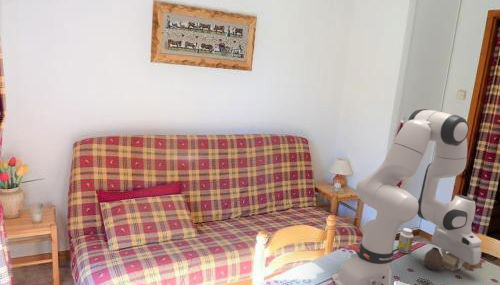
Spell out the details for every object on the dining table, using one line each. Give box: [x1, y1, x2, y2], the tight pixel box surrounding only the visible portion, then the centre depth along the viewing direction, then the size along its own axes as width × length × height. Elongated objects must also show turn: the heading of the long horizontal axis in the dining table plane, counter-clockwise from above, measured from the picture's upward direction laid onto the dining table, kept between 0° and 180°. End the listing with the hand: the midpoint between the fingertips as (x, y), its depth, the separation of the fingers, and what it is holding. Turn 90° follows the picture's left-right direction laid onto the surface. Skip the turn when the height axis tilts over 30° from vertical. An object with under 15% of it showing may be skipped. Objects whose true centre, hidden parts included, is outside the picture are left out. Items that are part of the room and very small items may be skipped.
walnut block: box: [461, 257, 484, 270], centre depth 162 cm, size 8×8×4 cm
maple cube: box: [442, 252, 461, 272], centre depth 158 cm, size 5×5×5 cm
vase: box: [423, 246, 443, 271], centre depth 155 cm, size 7×7×9 cm
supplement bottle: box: [397, 227, 414, 254], centre depth 169 cm, size 6×6×10 cm
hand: (451, 263), depth 158 cm, fingers closed on maple cube, 5 cm apart
